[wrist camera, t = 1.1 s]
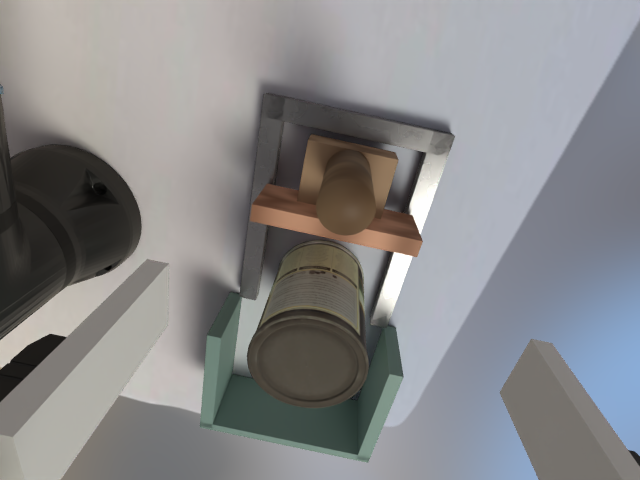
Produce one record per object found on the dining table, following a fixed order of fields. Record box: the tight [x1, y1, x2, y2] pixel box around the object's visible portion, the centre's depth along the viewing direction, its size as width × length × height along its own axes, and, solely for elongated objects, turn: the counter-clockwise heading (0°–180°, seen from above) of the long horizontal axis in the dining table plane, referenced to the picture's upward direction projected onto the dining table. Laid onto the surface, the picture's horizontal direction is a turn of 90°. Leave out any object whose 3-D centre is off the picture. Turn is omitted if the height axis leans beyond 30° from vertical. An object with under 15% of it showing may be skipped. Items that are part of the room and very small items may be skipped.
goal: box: [200, 292, 403, 462], centre depth 45 cm, size 21×15×8 cm
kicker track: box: [239, 93, 455, 328], centre depth 40 cm, size 18×23×2 cm
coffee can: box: [247, 240, 369, 408], centre depth 37 cm, size 10×10×14 cm
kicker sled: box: [250, 134, 423, 257], centre depth 31 cm, size 15×7×12 cm, turn 79°
